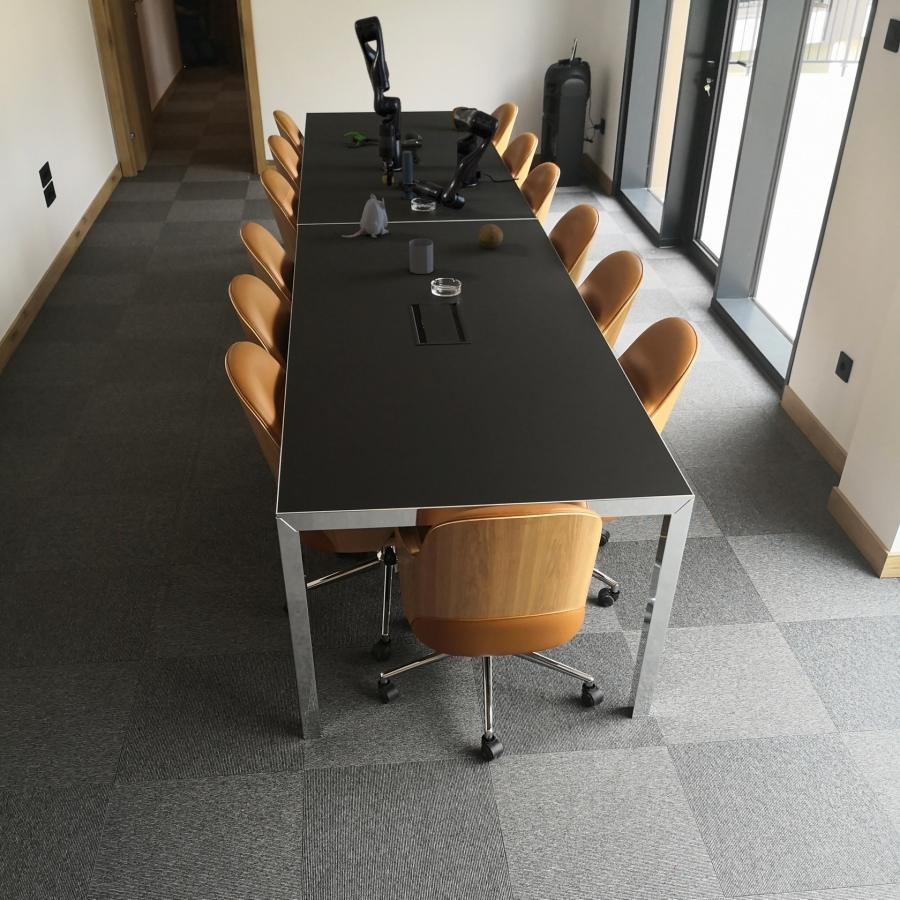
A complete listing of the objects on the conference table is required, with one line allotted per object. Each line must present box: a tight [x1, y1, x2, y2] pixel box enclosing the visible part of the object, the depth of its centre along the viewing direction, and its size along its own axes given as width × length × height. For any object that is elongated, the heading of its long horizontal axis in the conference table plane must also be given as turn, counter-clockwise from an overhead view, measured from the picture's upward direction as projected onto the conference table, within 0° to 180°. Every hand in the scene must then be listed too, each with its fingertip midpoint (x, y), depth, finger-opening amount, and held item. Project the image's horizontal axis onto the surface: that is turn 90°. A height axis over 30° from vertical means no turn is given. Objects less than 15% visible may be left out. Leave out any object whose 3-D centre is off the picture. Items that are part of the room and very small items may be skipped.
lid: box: [381, 174, 395, 184], centre depth 392 cm, size 5×5×2 cm
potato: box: [477, 223, 504, 249], centre depth 326 cm, size 10×14×8 cm
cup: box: [408, 237, 434, 275], centre depth 305 cm, size 8×8×10 cm
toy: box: [341, 193, 390, 239], centre depth 333 cm, size 9×24×15 cm, turn 137°
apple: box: [451, 105, 468, 132], centre depth 487 cm, size 11×11×13 cm
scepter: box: [342, 131, 379, 148], centre depth 461 cm, size 6×13×30 cm
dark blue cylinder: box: [402, 150, 414, 201], centre depth 376 cm, size 4×4×20 cm
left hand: (388, 183), depth 393 cm, fingers closed on lid, 5 cm apart
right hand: (404, 182), depth 380 cm, fingers closed on dark blue cylinder, 4 cm apart
